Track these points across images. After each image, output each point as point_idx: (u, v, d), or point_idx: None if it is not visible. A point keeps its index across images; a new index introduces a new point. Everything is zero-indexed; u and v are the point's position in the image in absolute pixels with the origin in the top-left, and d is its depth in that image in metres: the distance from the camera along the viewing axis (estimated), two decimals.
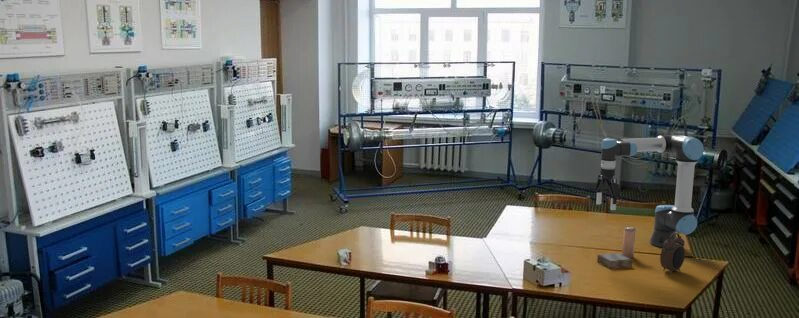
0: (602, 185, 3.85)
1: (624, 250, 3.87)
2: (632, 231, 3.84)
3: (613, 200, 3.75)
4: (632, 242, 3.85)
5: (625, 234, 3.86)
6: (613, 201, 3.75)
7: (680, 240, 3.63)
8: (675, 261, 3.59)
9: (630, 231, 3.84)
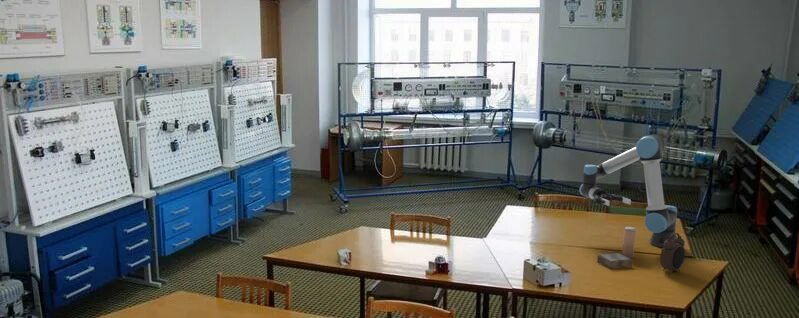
0: (613, 198, 4.06)
1: (624, 250, 3.87)
2: (632, 231, 3.84)
3: (601, 202, 3.98)
4: (632, 242, 3.85)
5: (625, 234, 3.86)
6: (602, 202, 3.97)
7: (680, 240, 3.63)
8: (674, 261, 3.59)
9: (630, 231, 3.84)
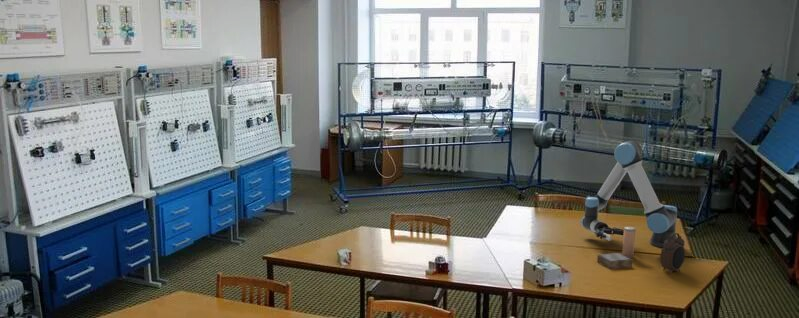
0: (615, 232, 4.05)
1: (624, 250, 3.87)
2: (632, 231, 3.84)
3: (603, 237, 3.97)
4: (632, 242, 3.85)
5: (625, 234, 3.86)
6: None
7: (680, 240, 3.63)
8: (674, 261, 3.59)
9: (630, 231, 3.84)
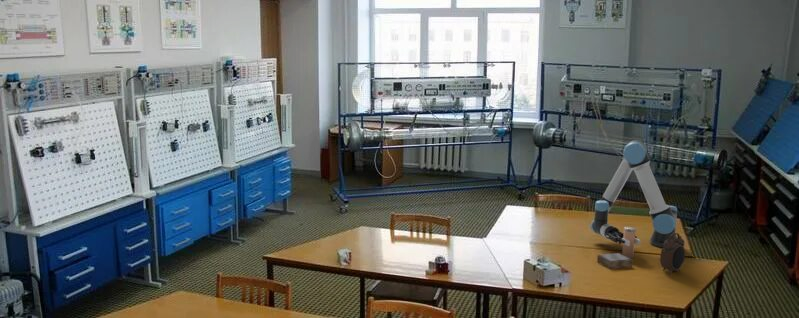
0: None
1: (624, 250, 3.87)
2: (632, 231, 3.84)
3: None
4: (632, 242, 3.85)
5: (625, 234, 3.86)
6: (622, 242, 3.86)
7: (680, 240, 3.63)
8: (674, 261, 3.59)
9: (630, 231, 3.84)
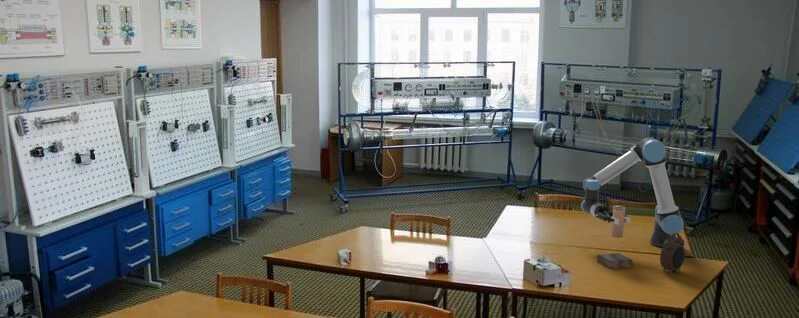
0: None
1: (613, 229, 3.77)
2: (621, 209, 3.74)
3: (611, 221, 3.77)
4: (621, 221, 3.75)
5: (614, 212, 3.76)
6: None
7: (680, 240, 3.63)
8: (674, 261, 3.59)
9: (619, 209, 3.74)
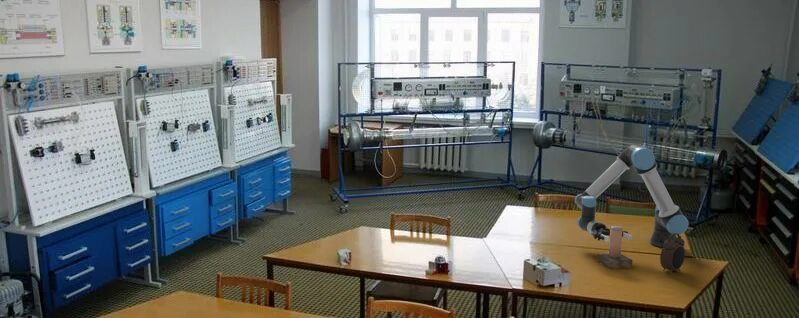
0: None
1: (611, 250, 3.73)
2: (619, 230, 3.69)
3: (601, 238, 3.73)
4: (619, 241, 3.71)
5: (611, 233, 3.71)
6: None
7: (680, 240, 3.63)
8: (675, 261, 3.59)
9: (616, 230, 3.69)
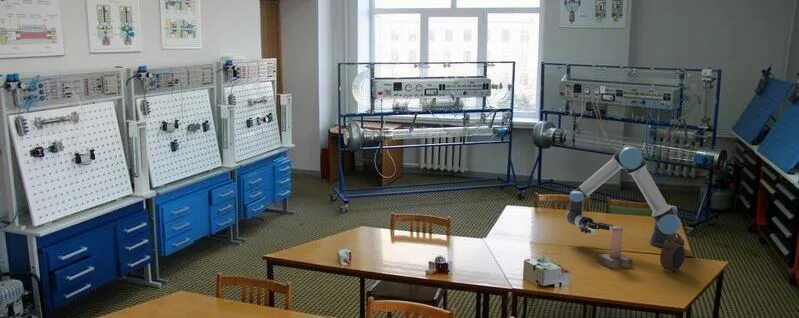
0: (600, 227, 3.94)
1: (611, 250, 3.73)
2: (619, 230, 3.70)
3: (587, 232, 3.85)
4: (619, 242, 3.71)
5: (612, 233, 3.71)
6: (588, 232, 3.85)
7: (680, 240, 3.63)
8: (675, 261, 3.59)
9: (617, 230, 3.69)
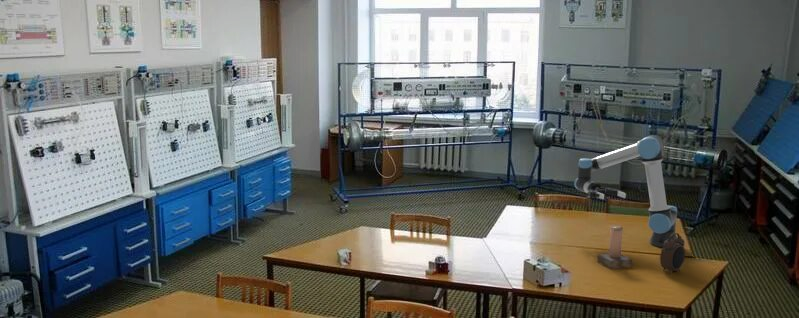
0: (608, 192, 4.02)
1: (611, 250, 3.73)
2: (619, 230, 3.69)
3: None
4: (619, 242, 3.71)
5: (612, 233, 3.71)
6: None
7: (680, 240, 3.63)
8: (674, 261, 3.59)
9: (617, 230, 3.69)
